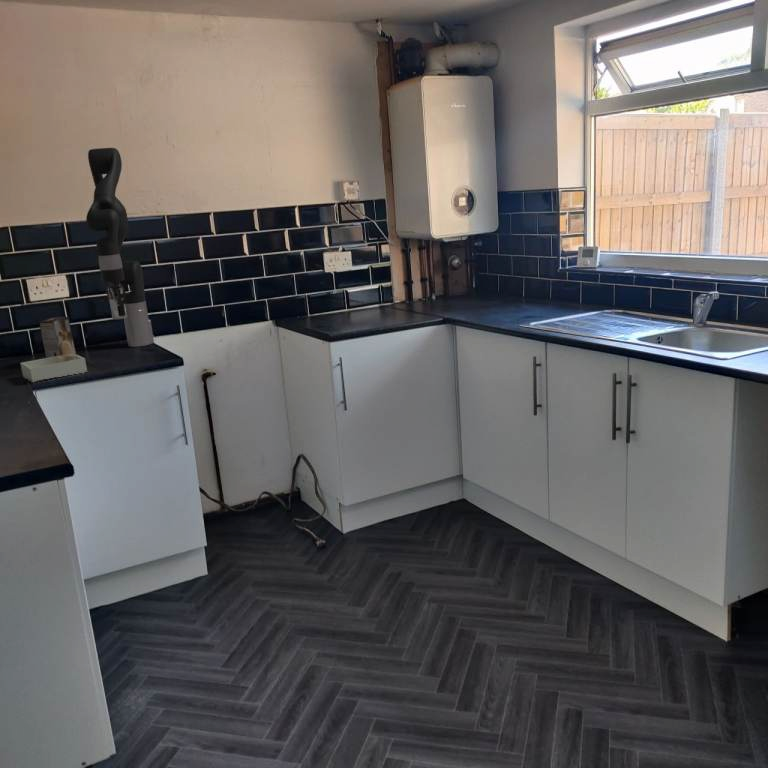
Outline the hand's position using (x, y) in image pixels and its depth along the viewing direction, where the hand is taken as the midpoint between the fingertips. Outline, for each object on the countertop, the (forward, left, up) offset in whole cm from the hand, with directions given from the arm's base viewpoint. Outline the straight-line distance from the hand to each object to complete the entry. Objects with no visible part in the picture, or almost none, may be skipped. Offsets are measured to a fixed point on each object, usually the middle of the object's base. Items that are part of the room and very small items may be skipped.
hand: (119, 315), depth 260 cm
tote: (+25, 0, -17) cm, 30 cm away
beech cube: (+21, 0, -16) cm, 26 cm away
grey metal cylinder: (0, 0, -1) cm, 1 cm away
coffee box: (+17, -21, -17) cm, 32 cm away
